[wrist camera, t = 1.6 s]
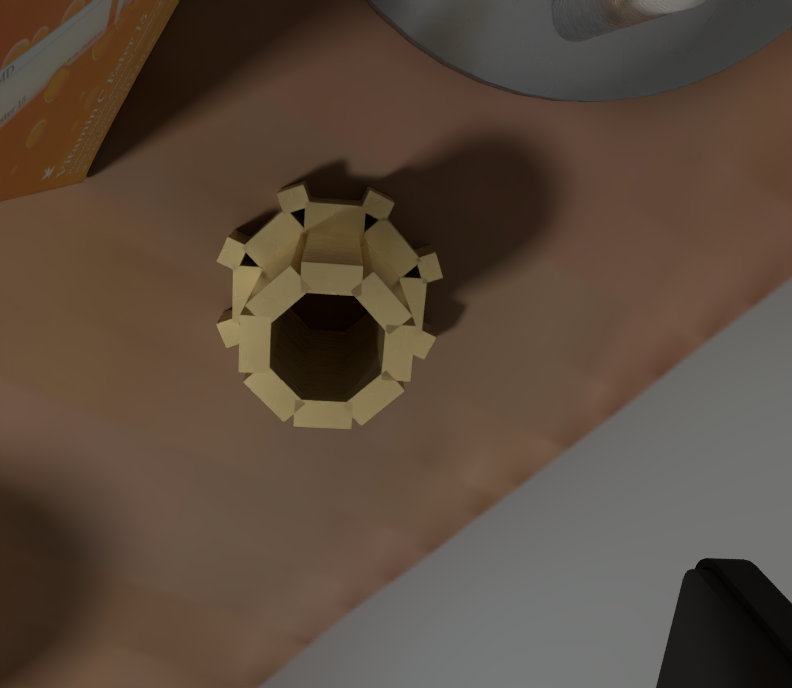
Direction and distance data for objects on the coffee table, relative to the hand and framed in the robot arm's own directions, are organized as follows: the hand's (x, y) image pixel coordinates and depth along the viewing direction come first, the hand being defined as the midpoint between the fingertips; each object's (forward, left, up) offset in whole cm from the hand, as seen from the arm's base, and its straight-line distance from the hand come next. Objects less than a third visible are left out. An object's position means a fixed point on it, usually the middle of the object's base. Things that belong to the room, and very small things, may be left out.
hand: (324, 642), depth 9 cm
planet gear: (0, 0, -17) cm, 17 cm away
